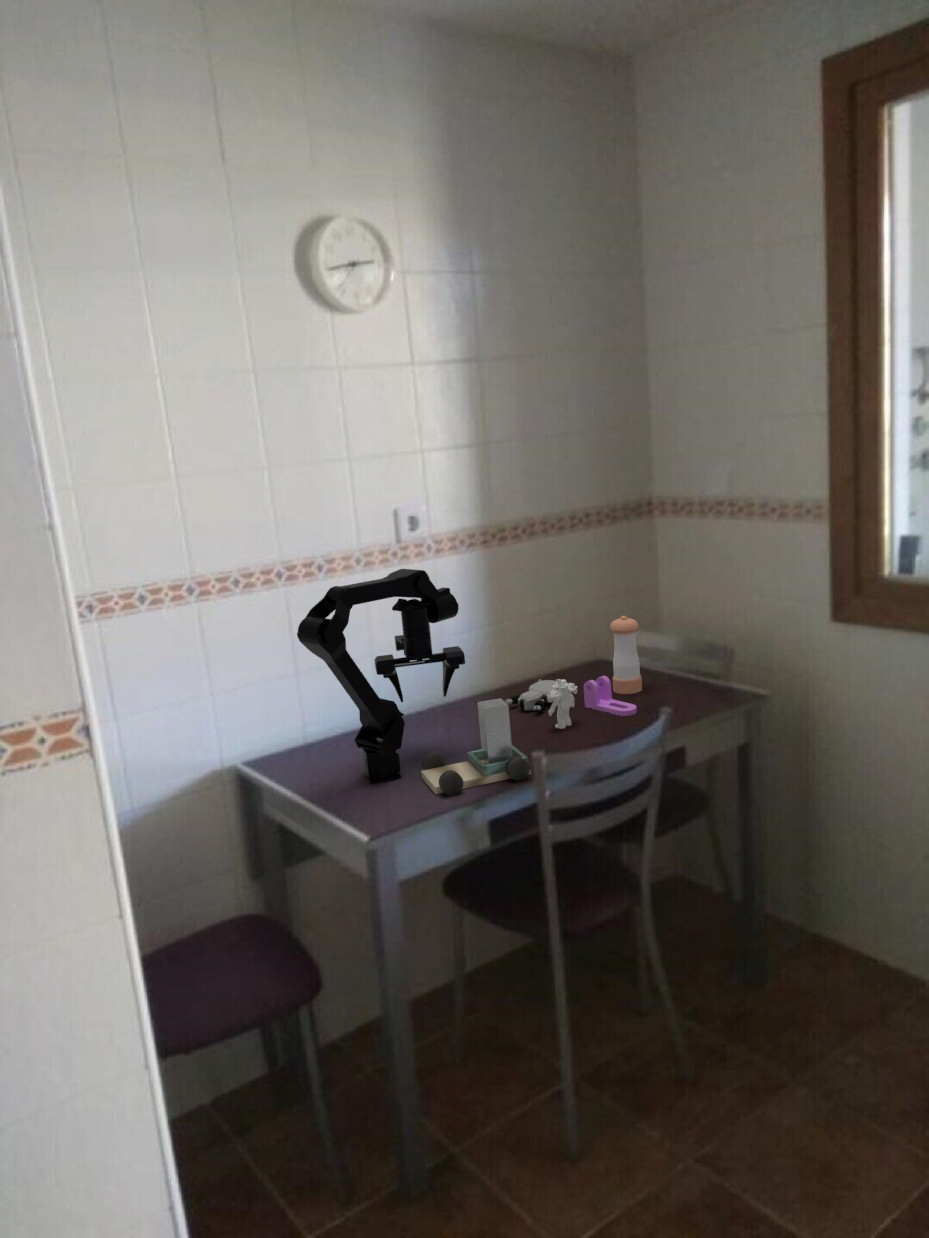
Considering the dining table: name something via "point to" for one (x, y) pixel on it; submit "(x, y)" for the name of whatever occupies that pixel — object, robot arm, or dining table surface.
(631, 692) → the pepper shaker
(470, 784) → the toy car chassis
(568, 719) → the flower shoulder figurine
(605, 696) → the bracket
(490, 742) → the tall gray rectangular block
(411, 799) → the dining table surface
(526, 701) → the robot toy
